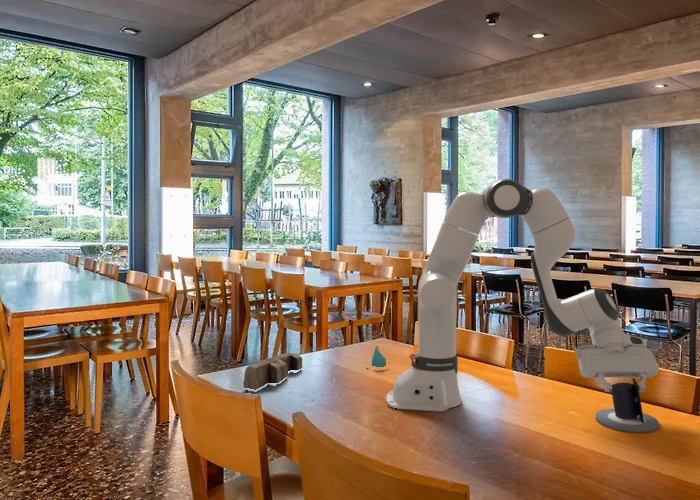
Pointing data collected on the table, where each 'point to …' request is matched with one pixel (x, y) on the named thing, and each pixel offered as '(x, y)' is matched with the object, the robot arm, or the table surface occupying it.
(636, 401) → the speaker
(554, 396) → the table surface
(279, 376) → the sculpture
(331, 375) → the table surface
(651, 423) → the speaker stand
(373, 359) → the teal tapered piece
